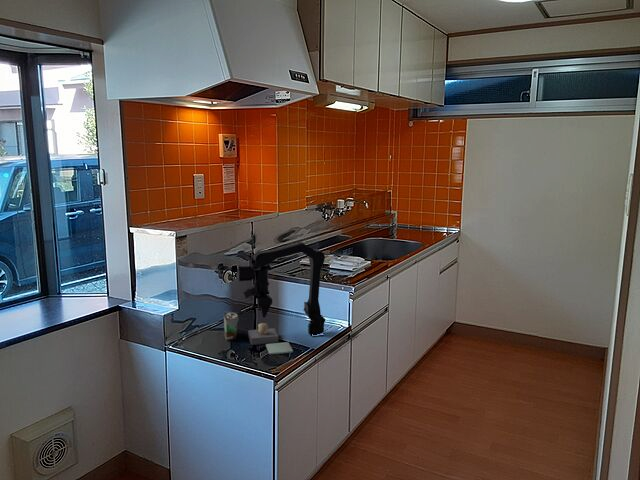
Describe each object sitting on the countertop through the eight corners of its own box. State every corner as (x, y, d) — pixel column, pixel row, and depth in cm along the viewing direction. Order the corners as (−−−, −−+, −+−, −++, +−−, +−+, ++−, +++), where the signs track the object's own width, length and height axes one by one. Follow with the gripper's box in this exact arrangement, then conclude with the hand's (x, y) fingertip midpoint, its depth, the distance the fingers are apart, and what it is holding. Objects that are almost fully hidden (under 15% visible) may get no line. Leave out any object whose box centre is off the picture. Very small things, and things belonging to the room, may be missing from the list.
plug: (266, 337, 225) (266, 322, 223) (268, 340, 221) (268, 325, 220) (257, 338, 224) (257, 323, 222) (259, 341, 220) (259, 326, 218)
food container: (240, 340, 220) (240, 319, 219) (226, 342, 219) (226, 320, 217) (237, 331, 232) (236, 310, 230) (223, 332, 230) (223, 311, 228)
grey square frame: (274, 334, 228) (274, 328, 228) (278, 342, 219) (278, 336, 218) (248, 336, 225) (248, 330, 225) (251, 344, 216) (251, 338, 215)
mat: (288, 343, 218) (288, 342, 218) (293, 352, 209) (293, 351, 209) (265, 345, 216) (265, 344, 215) (269, 354, 206) (269, 353, 206)
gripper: (240, 275, 224) (241, 308, 227) (245, 286, 206) (246, 322, 209) (265, 274, 227) (265, 306, 230) (272, 284, 209) (272, 320, 212)
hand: (262, 313), depth 220 cm, fingers open, 9 cm apart
